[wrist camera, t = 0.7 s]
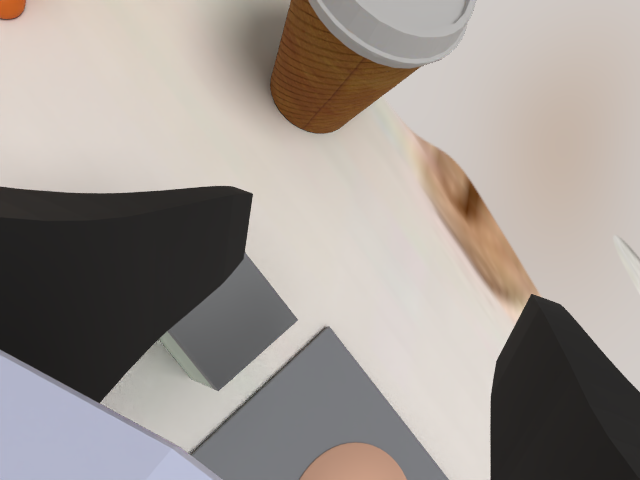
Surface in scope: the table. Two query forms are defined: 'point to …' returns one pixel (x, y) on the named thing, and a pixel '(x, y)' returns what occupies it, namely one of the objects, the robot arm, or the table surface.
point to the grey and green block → (229, 327)
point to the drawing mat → (317, 426)
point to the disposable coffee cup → (357, 53)
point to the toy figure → (11, 8)
